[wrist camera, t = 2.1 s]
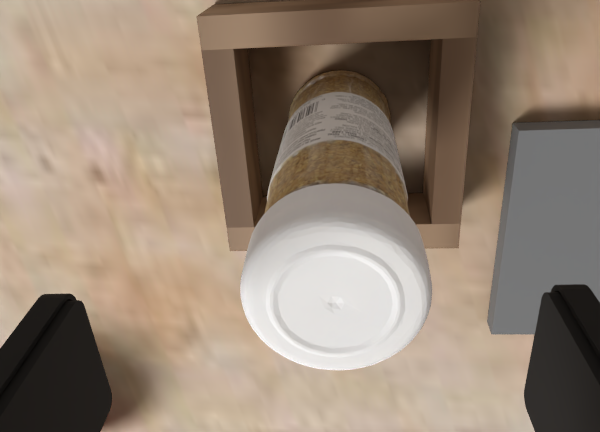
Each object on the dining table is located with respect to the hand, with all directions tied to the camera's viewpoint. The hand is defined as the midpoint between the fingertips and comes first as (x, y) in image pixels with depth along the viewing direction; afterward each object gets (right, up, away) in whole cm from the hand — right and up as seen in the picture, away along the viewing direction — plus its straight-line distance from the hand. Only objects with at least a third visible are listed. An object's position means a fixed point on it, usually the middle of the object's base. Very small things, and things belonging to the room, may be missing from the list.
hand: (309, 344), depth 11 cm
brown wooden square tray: (+2, +7, +13) cm, 15 cm away
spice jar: (+2, +7, +13) cm, 15 cm away
